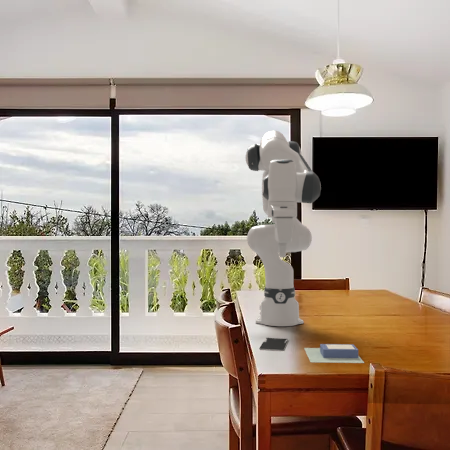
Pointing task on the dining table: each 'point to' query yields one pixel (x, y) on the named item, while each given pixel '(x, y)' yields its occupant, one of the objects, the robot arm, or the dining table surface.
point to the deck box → (338, 351)
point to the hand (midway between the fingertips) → (282, 257)
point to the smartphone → (274, 344)
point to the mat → (316, 356)
